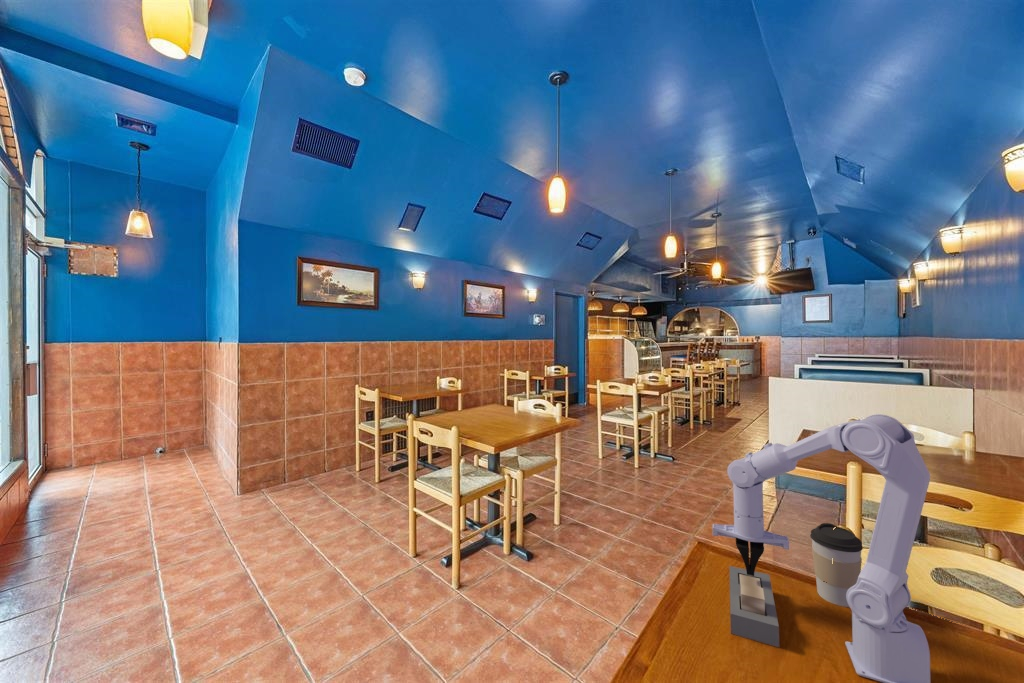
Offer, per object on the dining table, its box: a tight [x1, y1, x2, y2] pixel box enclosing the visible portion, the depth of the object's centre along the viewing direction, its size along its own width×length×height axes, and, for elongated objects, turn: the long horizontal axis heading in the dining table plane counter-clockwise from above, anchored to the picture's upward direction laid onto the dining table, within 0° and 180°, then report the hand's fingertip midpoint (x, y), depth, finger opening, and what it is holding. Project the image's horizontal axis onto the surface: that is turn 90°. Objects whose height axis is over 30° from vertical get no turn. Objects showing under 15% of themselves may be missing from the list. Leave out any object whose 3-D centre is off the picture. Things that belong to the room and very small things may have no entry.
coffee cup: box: [809, 522, 864, 608], centre depth 88 cm, size 9×9×15 cm
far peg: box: [739, 574, 761, 588], centre depth 88 cm, size 4×4×4 cm
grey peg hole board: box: [729, 565, 780, 648], centre depth 84 cm, size 8×18×4 cm, turn 152°
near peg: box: [741, 583, 765, 616], centre depth 80 cm, size 4×4×4 cm
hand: (750, 572), depth 88 cm, fingers closed
